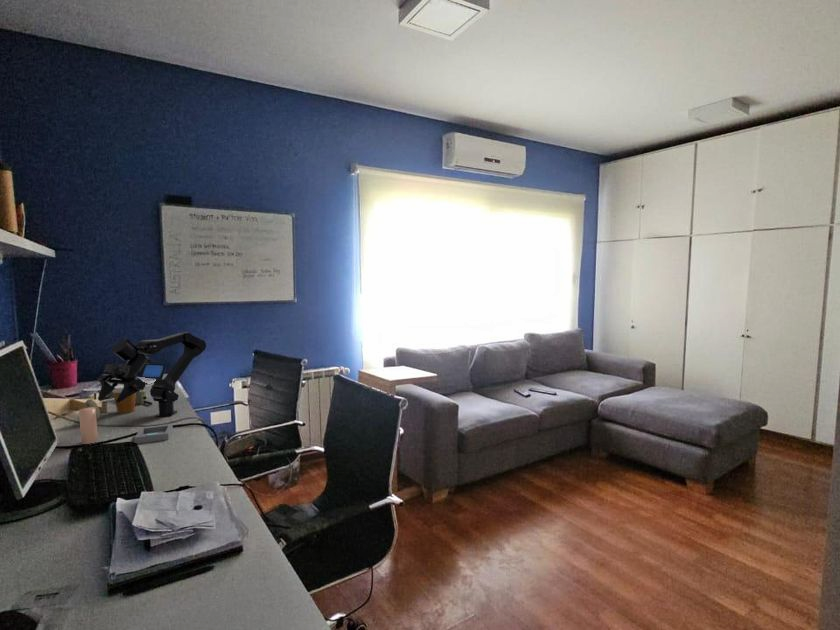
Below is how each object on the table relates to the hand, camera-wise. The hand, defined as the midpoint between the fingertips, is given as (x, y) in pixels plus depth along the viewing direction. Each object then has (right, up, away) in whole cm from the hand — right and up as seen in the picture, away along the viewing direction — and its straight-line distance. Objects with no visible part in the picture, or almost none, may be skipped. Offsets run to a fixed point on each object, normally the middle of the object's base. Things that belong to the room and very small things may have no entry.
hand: (107, 401), depth 161 cm
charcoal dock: (+18, -13, -1) cm, 23 cm away
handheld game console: (-39, -6, +84) cm, 93 cm away
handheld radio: (-18, -10, +44) cm, 48 cm away
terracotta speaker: (-2, -14, -6) cm, 15 cm away
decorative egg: (-17, -12, +14) cm, 26 cm away
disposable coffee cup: (-13, -11, +29) cm, 33 cm away
